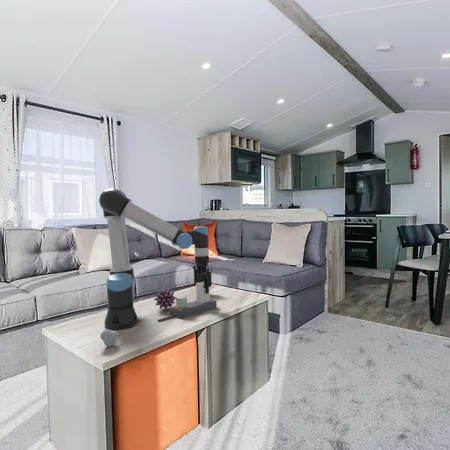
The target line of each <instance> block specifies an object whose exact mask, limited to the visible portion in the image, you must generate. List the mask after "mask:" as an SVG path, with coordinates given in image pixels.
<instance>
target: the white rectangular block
mask: <svg viewBox="0 0 450 450" xmlns="http://www.w3.org/2000/svg"><path fill="white" fill-rule="evenodd" d="M195 285H196V286H195V287H196V289H195V290H196V291H195V292H196V301H197V302H200V303H205V302H209V301H210V299H211V298H210V292H209V293H208V295H209V299H206V300H204V289H203V288H204V282H200V283H196V284H195Z"/></svg>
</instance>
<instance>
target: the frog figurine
mask: <svg viewBox="0 0 450 450" xmlns="http://www.w3.org/2000/svg"><path fill="white" fill-rule="evenodd" d="M118 335H119V334H118V332H117V331H114V330H112V329H108V328H106V329H103V330H102V332H101V333H99V336H100V339H101V340H102V341H103V344H104V345H105V346H106V347H108V348H110V347H113V346H115V344H116V343H117V341H118Z"/></svg>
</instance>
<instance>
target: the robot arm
mask: <svg viewBox="0 0 450 450" xmlns="http://www.w3.org/2000/svg"><path fill="white" fill-rule="evenodd" d="M98 203H99V206H100V208H101V209H102V211H103V218H104V219H105V220H107V221H106V222H107V228H108V236H109V237H108V239H109V249H110V257H111V265H112V266H111V268H110V270H109V276H108V277H107V278H106V282H105V284H106V293H107V294H106V295H107V298H106V299H107V311H106V315H105V318H104V327H105V328H106V329H109V330H125V329H129V328H131V327H134V326H136V325H137V324H138V323H139V321H138V320H139V317H138V315H137V312H136V309H135V307H134V288H135V287H136V282H137V281H136V280H137V279H136V278H135V271H134V267H133V266H132V265H131V263H130V253H129V245H128V244H129V243H128V242H129V241H128V234H127V226H126V225H127V224H126V223H127V222H126V219H127V220H130V221H131V222H133V223H135V224H137V225H138V226H141V227H142V228H144V229H146V230H147V231H150V232H152V233H153V234H156V235H158V236H159V237H160V238H163V239H165V240H167V241H169V242H170V243H171V245H172V246H177V247H178V248H180V249H183V250H187V249H189V248H190V247H191V246H194V255H195V256H194V262H195V265H193V266H192V269H193V283H194V285H196V283H200V282H201V280H202V275H203V281H204V288H203V289H204V300H206V299H209V297H210V287H212V282H213V281H212V271H213V268H212V267H211V268H210V267H209V264H208V263H210V256H209V253H210V251H209V250H210V249H209V246H210V245H209V228H208V227H207V226H204V225H203V226H199V225H198V226H195V227H193V230H181V229H180V228H179V227H176V226H175V225H173V224H171V223H169V222H168V221H166V220H164V219H162V218H160V217H159V216H157V215H155V214H153V213H151V212H149V211H147V210H145V209H144V208H142V207H141V206H138V205H137V204H135V203H133V201H132V199H130V198H128V197H127V196H126V194H125V192H123V191H121V190H119V189H116V188H107V189H105V190H104V191H102V192H101V194H100V195H99V199H98ZM208 293H209V295H208Z"/></svg>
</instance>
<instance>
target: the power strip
mask: <svg viewBox="0 0 450 450" xmlns="http://www.w3.org/2000/svg"><path fill="white" fill-rule="evenodd" d="M217 303H218V302H217V300H216V299H213V298H210V301H209V302H205V303H200V302H197V300H193V301H190V302H187V307H186V308H182V309H180V307H179V306H176V305H175V306H171V308H170V316H169V315H168V316H166V317H161V318H158V319H157V322H158V323H159V322H163V321H167V320H169V319H174V318H178V319H183V318H186V317H190V316H193V315H197V314H201V313H204V312H207V311H211V310H214V309H217V308H218V307H217V305H218V304H217Z"/></svg>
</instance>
